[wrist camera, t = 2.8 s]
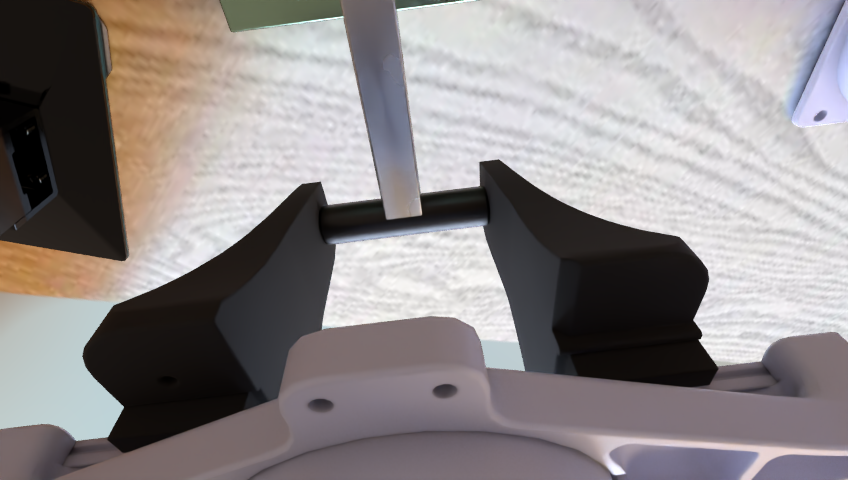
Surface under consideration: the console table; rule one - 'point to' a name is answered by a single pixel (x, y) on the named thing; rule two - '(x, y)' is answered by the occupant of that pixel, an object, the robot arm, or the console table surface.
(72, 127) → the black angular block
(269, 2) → the bracket
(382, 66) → the lever
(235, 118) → the console table surface
